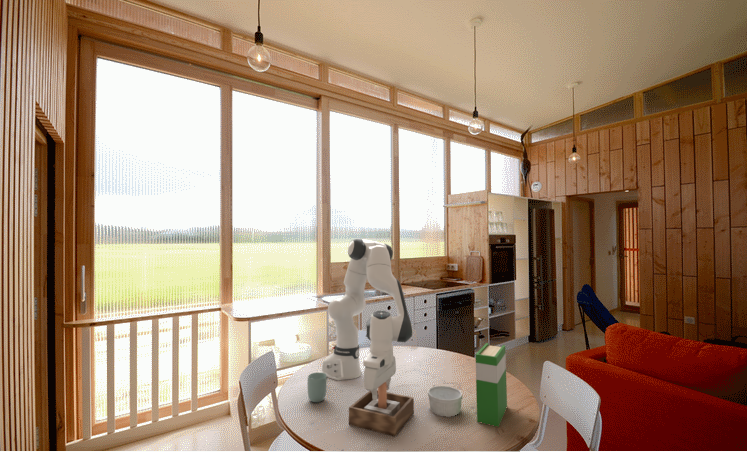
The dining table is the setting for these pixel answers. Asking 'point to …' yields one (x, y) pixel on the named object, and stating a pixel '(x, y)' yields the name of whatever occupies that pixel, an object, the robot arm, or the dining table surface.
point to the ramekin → (445, 400)
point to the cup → (317, 386)
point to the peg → (382, 396)
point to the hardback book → (491, 384)
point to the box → (382, 413)
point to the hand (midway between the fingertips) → (381, 394)
